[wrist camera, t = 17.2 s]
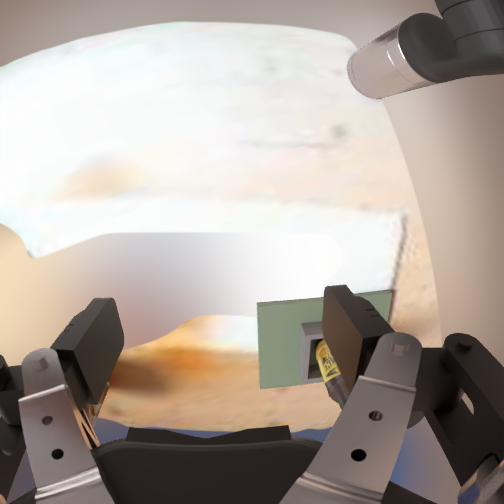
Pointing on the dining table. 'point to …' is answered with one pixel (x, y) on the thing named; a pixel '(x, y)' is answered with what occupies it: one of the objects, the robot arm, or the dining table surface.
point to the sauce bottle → (331, 373)
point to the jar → (414, 418)
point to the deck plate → (297, 338)
